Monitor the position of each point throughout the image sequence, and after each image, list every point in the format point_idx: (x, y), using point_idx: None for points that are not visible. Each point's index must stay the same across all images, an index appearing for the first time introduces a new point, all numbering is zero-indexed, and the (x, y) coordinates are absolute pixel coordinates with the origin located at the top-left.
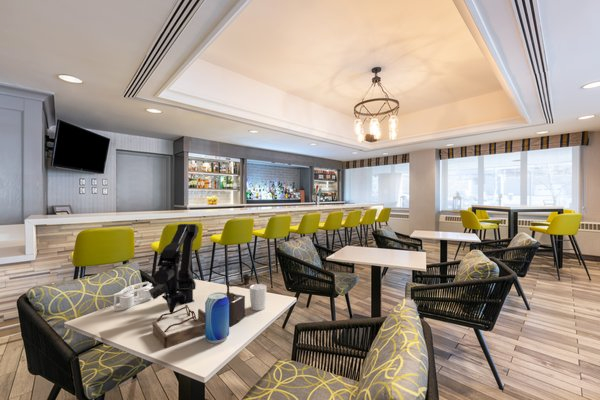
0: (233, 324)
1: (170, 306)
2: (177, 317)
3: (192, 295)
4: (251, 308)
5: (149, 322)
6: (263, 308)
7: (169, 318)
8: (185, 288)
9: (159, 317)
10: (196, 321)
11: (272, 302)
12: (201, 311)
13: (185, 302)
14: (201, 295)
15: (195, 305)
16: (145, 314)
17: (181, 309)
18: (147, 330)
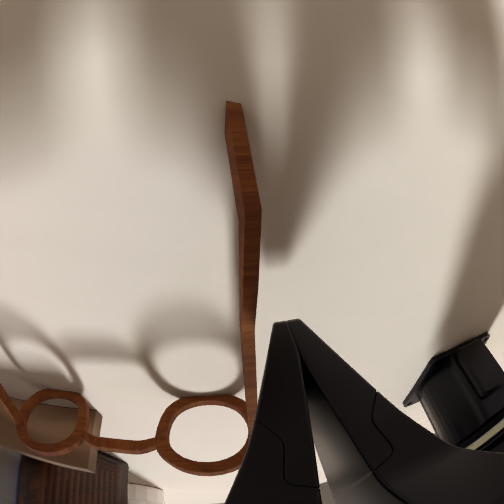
0: None
1: (257, 424)
2: (192, 337)
3: (429, 420)
4: (134, 486)
5: (254, 13)
6: None
7: (215, 271)
8: (476, 440)
9: (249, 159)
10: (39, 395)
11: (165, 498)
12: (49, 460)
13: (427, 378)
14: (424, 413)
15: None
16: (500, 89)
17: (247, 413)
18: (12, 14)
